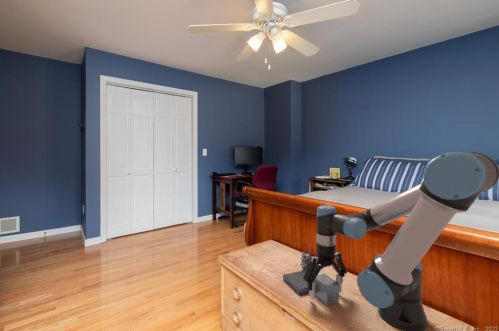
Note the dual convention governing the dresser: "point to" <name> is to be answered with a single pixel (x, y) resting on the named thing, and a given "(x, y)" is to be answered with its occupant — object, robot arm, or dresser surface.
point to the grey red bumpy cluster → (306, 259)
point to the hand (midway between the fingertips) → (325, 293)
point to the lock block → (326, 289)
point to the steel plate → (297, 282)
